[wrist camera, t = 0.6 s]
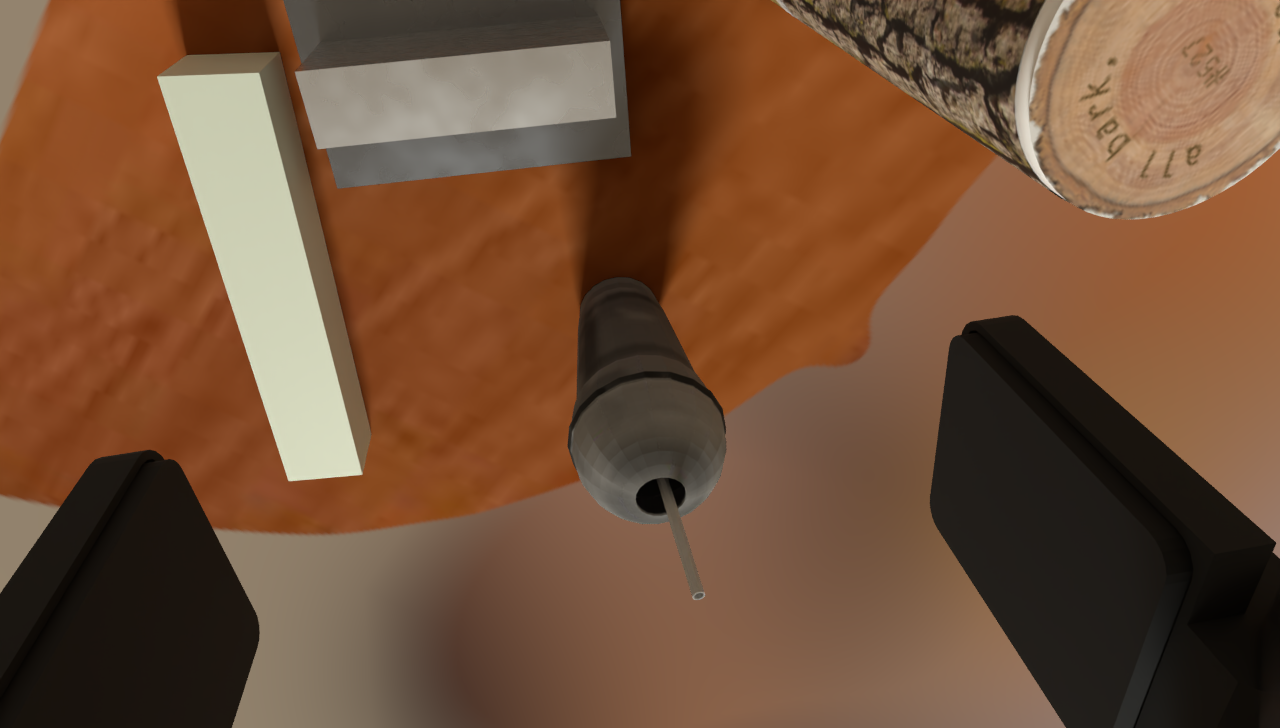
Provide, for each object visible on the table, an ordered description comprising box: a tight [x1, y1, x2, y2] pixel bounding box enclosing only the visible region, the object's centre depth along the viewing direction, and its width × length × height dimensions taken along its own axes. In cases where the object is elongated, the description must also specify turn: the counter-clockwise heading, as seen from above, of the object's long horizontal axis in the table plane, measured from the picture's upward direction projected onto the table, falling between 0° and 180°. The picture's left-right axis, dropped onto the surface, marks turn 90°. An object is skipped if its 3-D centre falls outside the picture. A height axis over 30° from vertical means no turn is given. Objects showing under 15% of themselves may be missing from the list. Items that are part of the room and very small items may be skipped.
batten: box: [157, 52, 371, 481], centre depth 41 cm, size 22×4×4 cm, turn 0°
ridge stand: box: [284, 0, 631, 188], centre depth 35 cm, size 10×14×7 cm
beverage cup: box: [568, 277, 726, 600], centre depth 38 cm, size 7×7×20 cm
